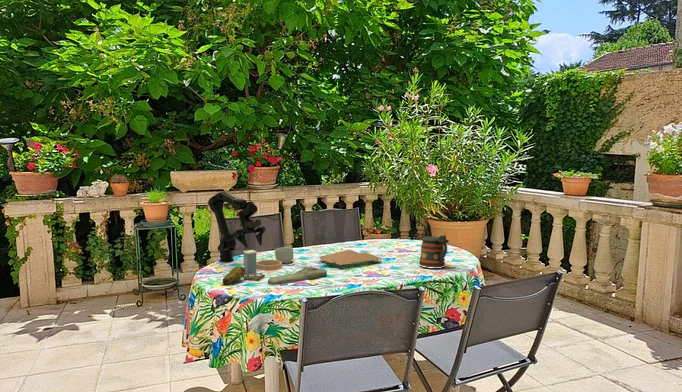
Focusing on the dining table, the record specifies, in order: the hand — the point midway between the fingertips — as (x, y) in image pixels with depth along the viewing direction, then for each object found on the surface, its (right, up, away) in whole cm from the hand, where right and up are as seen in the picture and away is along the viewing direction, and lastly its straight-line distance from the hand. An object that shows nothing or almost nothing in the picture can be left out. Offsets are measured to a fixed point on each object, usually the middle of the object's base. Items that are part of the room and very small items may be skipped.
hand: (254, 246), depth 272 cm
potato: (-6, -16, -25) cm, 30 cm away
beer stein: (+101, -13, +13) cm, 103 cm away
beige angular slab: (+2, -15, -19) cm, 24 cm away
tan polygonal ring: (+7, -13, +5) cm, 15 cm away
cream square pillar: (-1, -14, -9) cm, 17 cm away
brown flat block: (+52, -12, +21) cm, 57 cm away
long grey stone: (+25, -16, -17) cm, 34 cm away
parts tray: (+3, -15, -18) cm, 24 cm away
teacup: (+14, -11, +21) cm, 28 cm away
